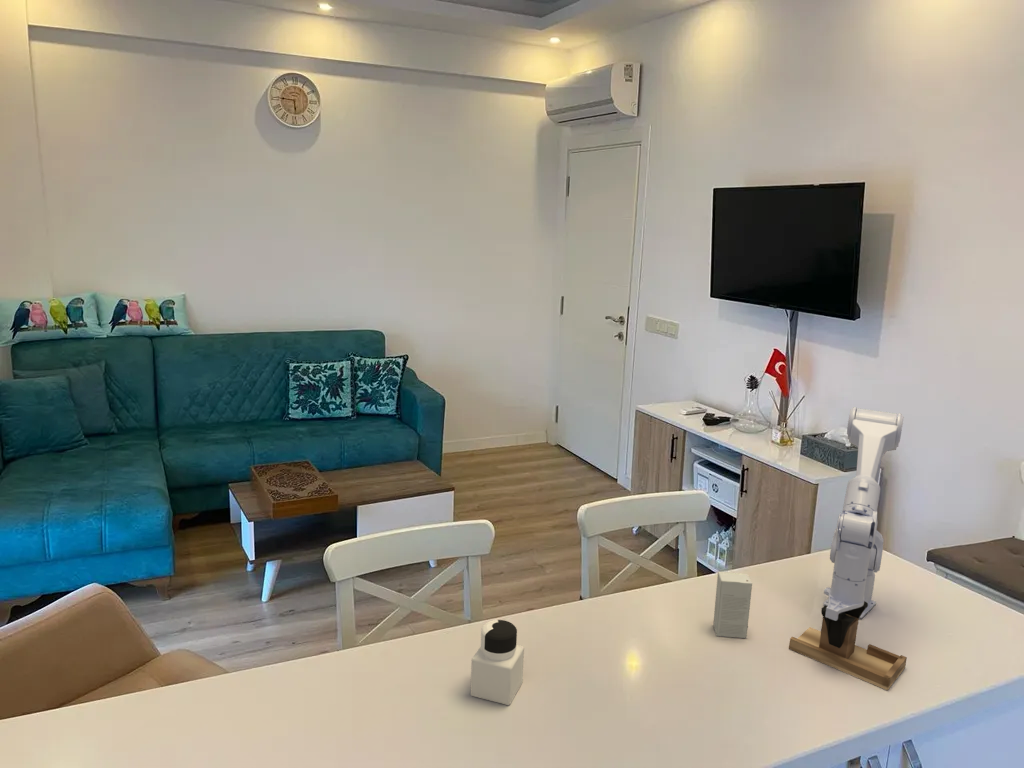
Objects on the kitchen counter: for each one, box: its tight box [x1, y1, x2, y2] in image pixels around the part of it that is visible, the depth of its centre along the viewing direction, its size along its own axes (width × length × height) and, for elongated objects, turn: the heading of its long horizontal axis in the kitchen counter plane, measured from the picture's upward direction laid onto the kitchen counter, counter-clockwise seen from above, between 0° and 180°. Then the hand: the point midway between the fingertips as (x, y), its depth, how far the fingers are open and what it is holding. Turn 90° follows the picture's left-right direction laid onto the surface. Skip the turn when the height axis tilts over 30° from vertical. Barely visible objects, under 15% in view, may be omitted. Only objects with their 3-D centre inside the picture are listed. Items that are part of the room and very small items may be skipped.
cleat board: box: [788, 626, 908, 691], centre depth 141 cm, size 10×18×2 cm, turn 47°
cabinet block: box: [819, 614, 860, 659], centre depth 142 cm, size 4×5×8 cm
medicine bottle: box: [470, 619, 525, 706], centre depth 127 cm, size 7×7×12 cm
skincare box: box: [712, 571, 753, 639], centre depth 148 cm, size 6×4×12 cm
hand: (840, 640), depth 142 cm, fingers closed on cabinet block, 4 cm apart
